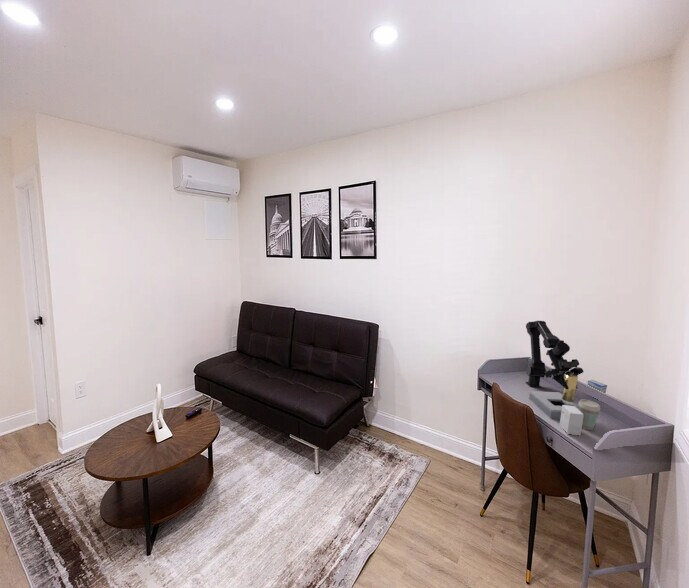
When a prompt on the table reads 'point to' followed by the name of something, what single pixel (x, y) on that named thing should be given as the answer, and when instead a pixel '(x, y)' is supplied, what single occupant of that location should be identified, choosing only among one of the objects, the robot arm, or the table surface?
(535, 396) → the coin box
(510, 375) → the table surface
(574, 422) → the small box
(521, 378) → the table surface
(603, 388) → the medicine box
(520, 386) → the table surface
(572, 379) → the brass cylinder
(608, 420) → the table surface
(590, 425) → the coffee cup
